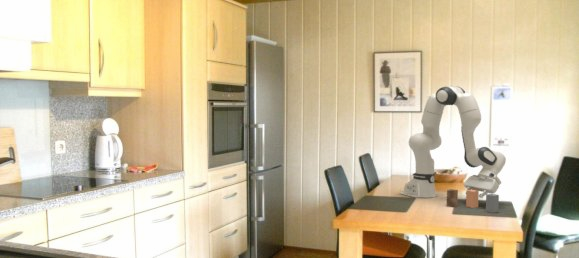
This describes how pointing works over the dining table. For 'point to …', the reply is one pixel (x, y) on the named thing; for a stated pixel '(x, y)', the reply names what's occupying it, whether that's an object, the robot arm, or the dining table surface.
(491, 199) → the charcoal bar
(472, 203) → the terracotta bar
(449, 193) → the walnut bar
